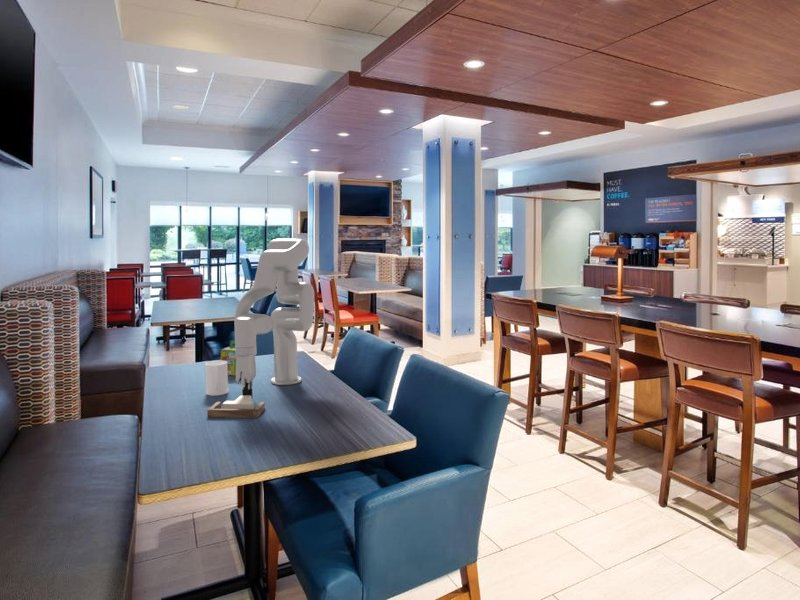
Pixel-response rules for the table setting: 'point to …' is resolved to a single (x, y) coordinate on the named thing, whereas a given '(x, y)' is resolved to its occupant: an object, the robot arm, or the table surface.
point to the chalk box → (230, 358)
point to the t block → (240, 403)
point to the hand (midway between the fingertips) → (247, 399)
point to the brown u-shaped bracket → (235, 411)
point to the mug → (216, 378)
